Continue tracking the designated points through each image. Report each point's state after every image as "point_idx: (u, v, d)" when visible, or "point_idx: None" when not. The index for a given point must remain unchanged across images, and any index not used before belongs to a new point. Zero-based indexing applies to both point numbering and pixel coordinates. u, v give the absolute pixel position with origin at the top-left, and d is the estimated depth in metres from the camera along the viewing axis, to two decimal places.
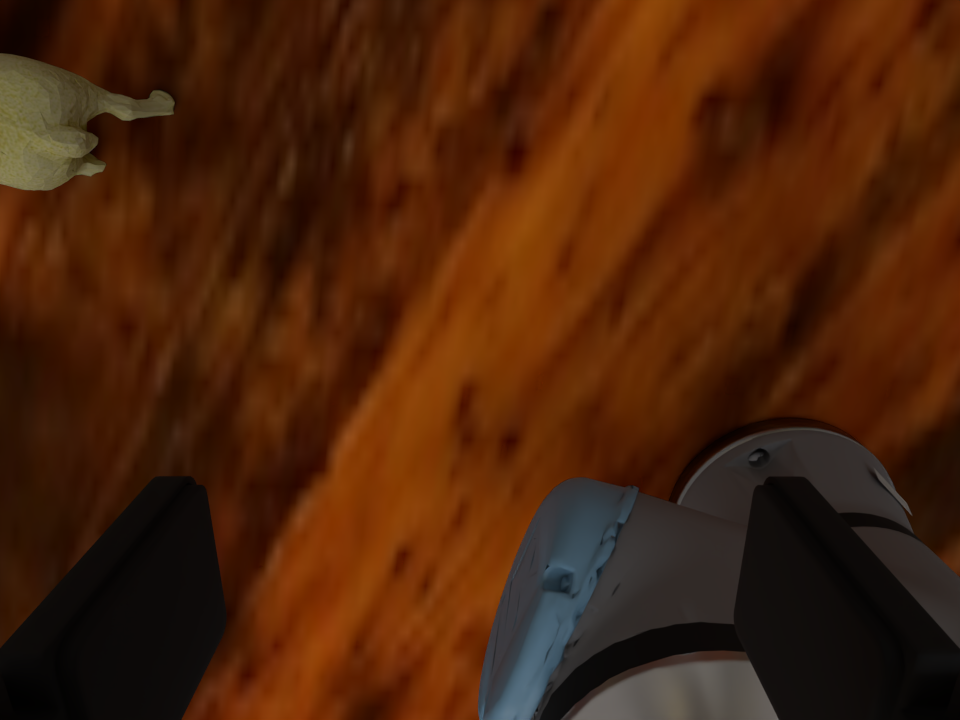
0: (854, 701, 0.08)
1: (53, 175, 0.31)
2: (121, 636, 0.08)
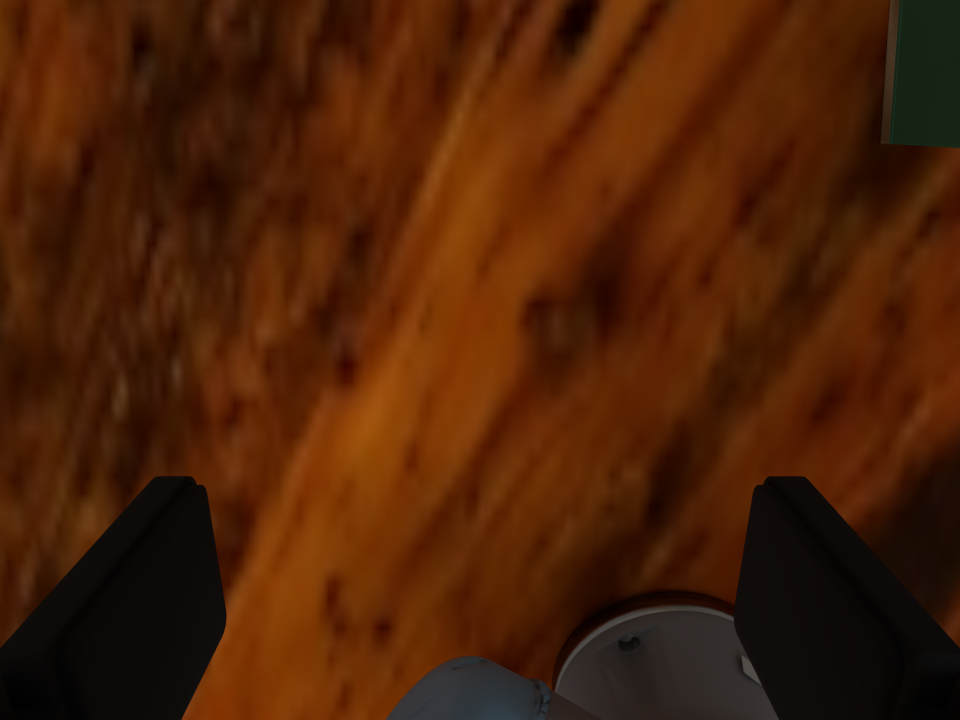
0: (854, 701, 0.08)
1: None
2: (121, 636, 0.08)
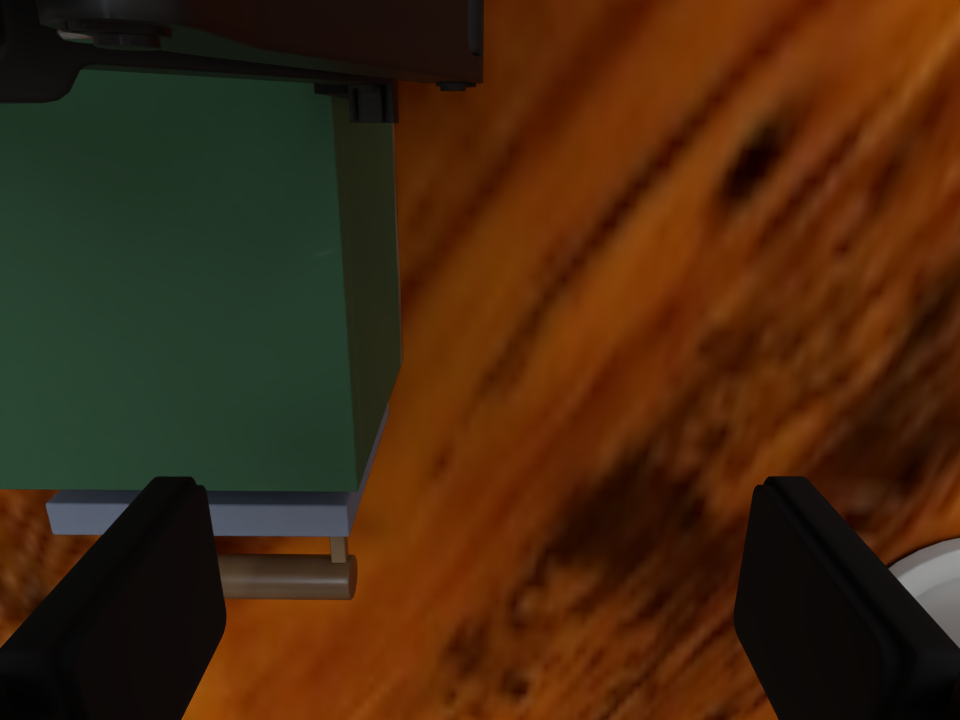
0: (854, 701, 0.08)
1: None
2: (121, 636, 0.08)
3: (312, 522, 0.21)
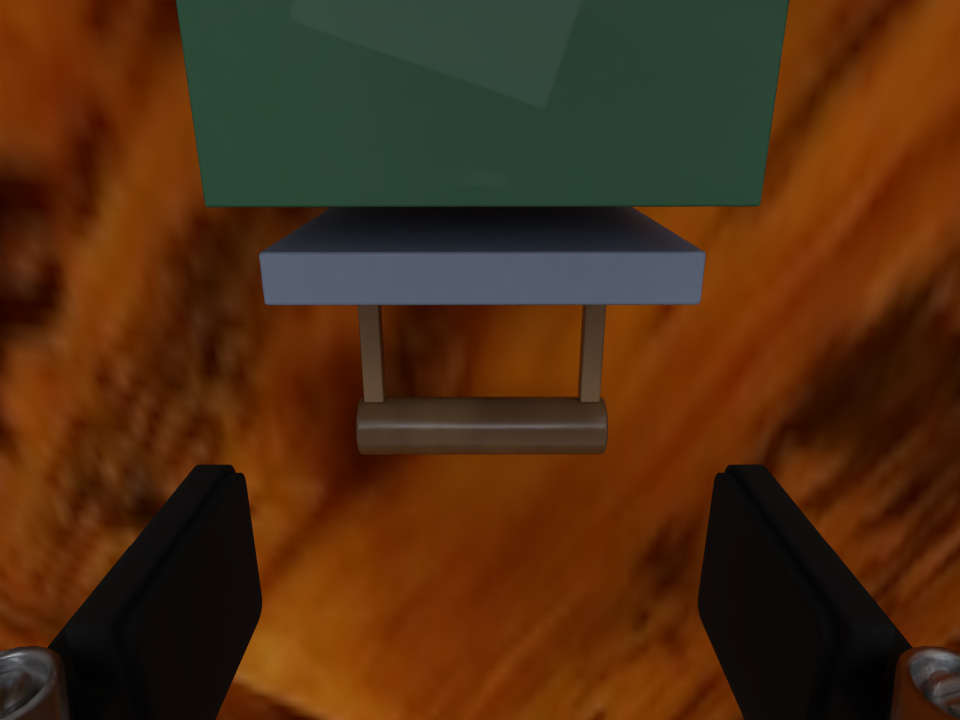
0: (797, 676, 0.08)
1: None
2: (175, 614, 0.09)
3: (651, 280, 0.15)
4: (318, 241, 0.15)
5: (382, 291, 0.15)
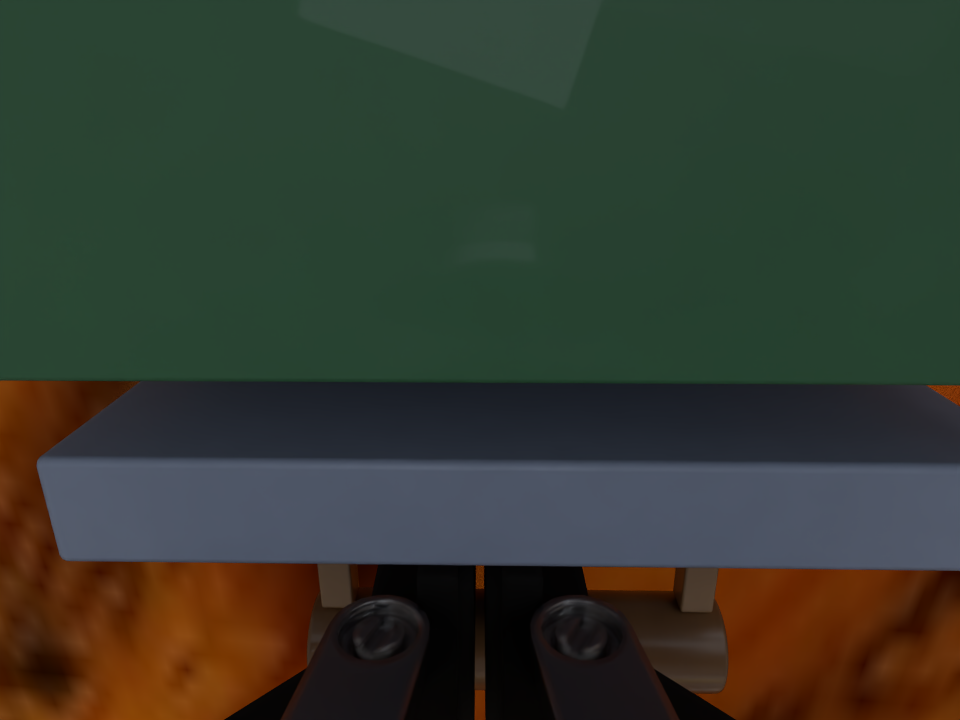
0: None
1: None
2: None
3: (922, 523, 0.06)
4: (192, 405, 0.07)
5: (314, 539, 0.07)
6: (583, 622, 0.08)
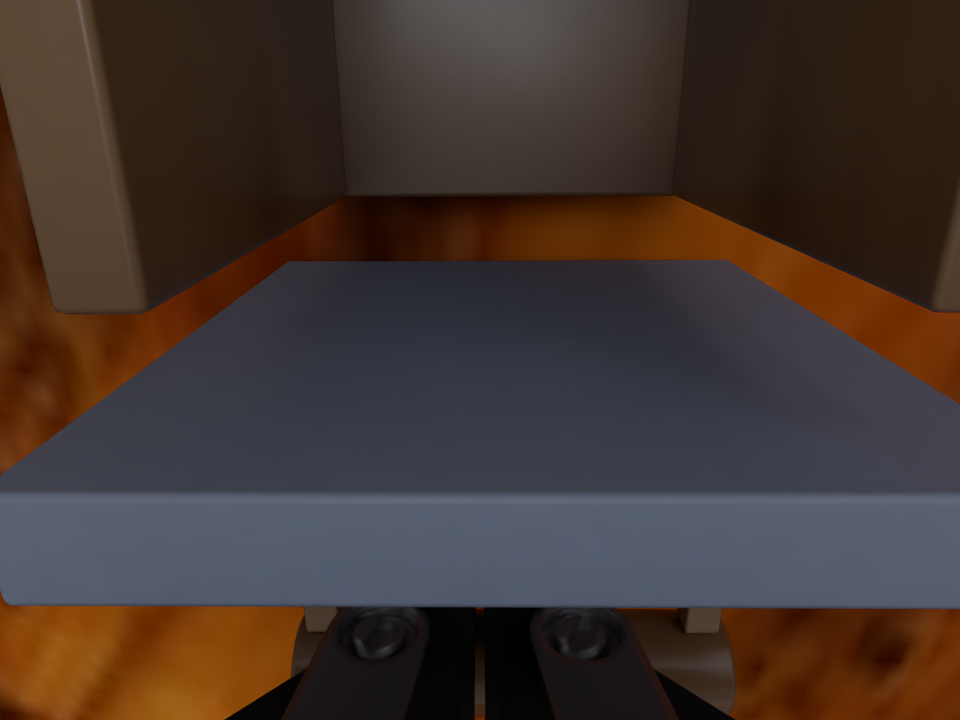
0: None
1: None
2: None
3: None
4: (154, 429, 0.07)
5: (286, 580, 0.06)
6: (583, 622, 0.08)
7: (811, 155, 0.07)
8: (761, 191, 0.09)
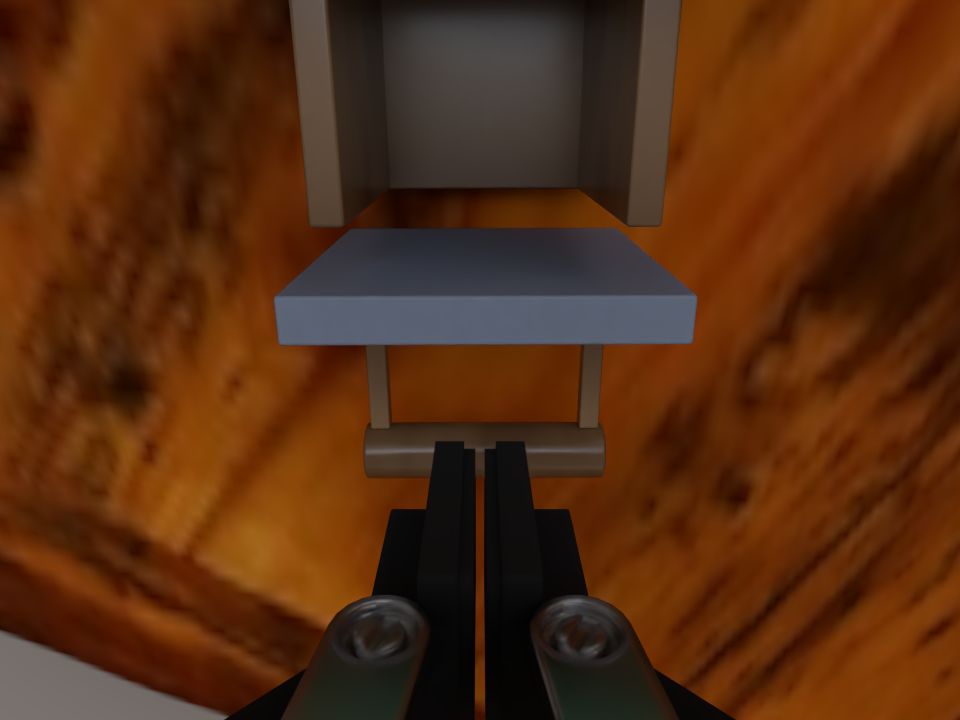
0: None
1: None
2: None
3: (646, 321, 0.15)
4: (329, 282, 0.16)
5: (390, 332, 0.15)
6: (583, 622, 0.08)
7: (609, 168, 0.17)
8: (599, 184, 0.18)
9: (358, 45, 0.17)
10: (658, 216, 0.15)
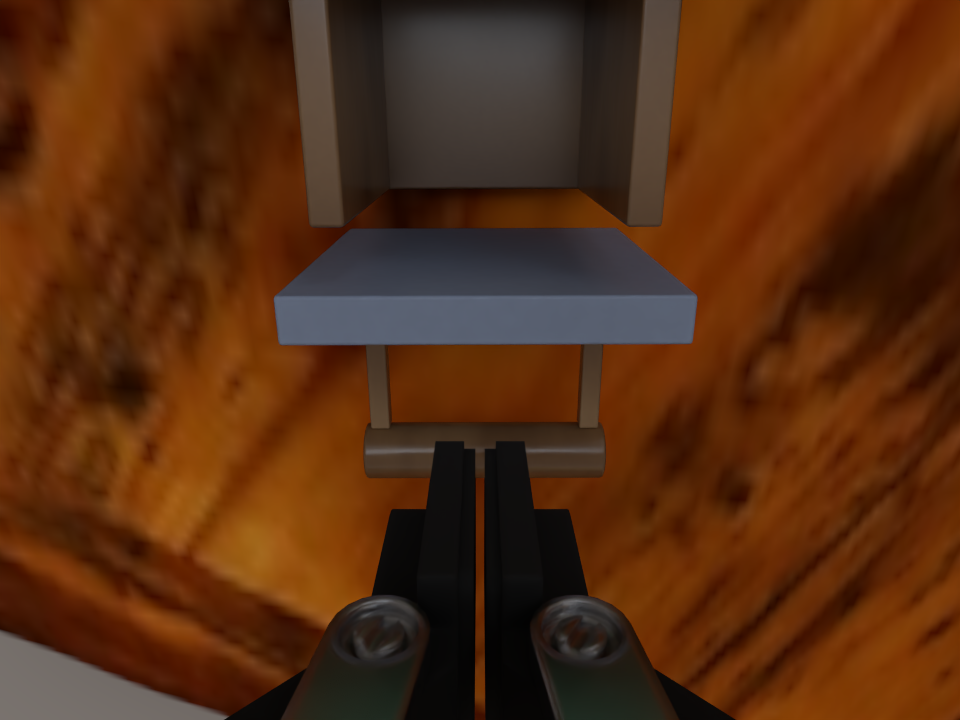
0: None
1: None
2: None
3: (646, 321, 0.15)
4: (329, 282, 0.16)
5: (390, 332, 0.15)
6: (583, 622, 0.08)
7: (609, 168, 0.17)
8: (599, 184, 0.18)
9: (358, 45, 0.17)
10: (658, 216, 0.15)
